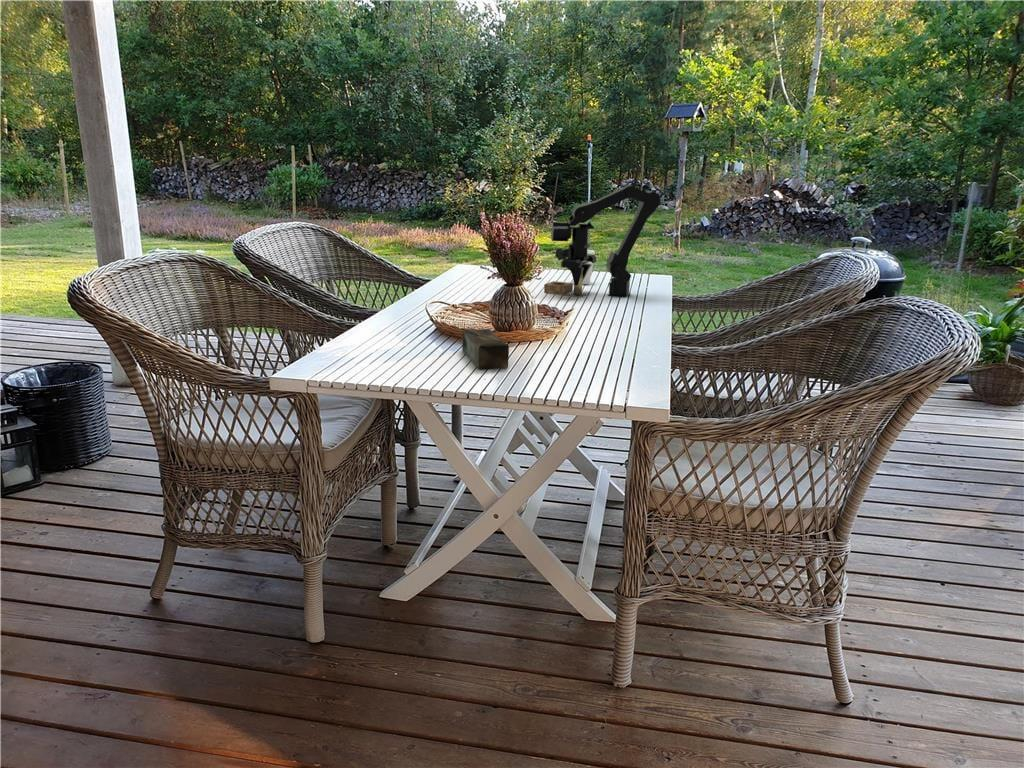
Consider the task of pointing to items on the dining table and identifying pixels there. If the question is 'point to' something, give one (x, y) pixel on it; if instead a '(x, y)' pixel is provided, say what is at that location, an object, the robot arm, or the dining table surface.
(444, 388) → the dining table surface
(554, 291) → the socket block
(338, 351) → the dining table surface
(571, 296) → the mat
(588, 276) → the foam cup
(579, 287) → the pin
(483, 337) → the beverage carton
